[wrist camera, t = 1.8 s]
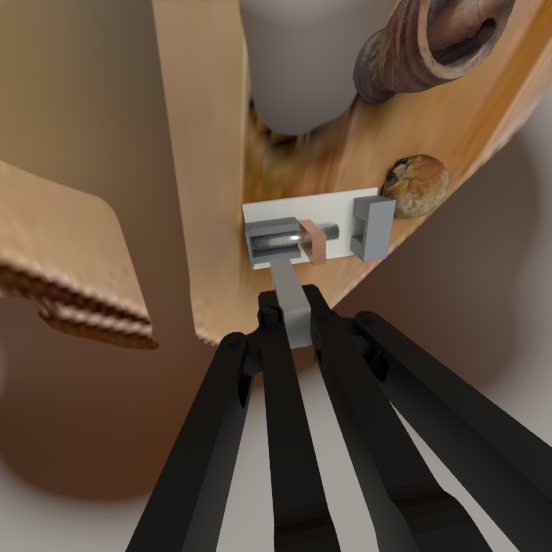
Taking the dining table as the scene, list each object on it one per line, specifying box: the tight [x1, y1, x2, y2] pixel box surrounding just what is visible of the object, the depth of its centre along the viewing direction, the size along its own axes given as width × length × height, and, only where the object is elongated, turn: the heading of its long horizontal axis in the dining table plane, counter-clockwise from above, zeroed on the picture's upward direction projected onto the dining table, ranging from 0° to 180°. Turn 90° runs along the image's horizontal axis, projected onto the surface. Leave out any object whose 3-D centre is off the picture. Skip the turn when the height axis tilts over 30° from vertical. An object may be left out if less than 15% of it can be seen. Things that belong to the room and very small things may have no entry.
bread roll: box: [382, 154, 449, 219], centre depth 35 cm, size 10×10×8 cm
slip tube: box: [253, 219, 339, 265], centre depth 33 cm, size 4×14×9 cm, turn 96°
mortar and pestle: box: [353, 0, 515, 105], centre depth 19 cm, size 12×9×20 cm
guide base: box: [242, 187, 396, 269], centre depth 35 cm, size 12×23×6 cm, turn 96°
